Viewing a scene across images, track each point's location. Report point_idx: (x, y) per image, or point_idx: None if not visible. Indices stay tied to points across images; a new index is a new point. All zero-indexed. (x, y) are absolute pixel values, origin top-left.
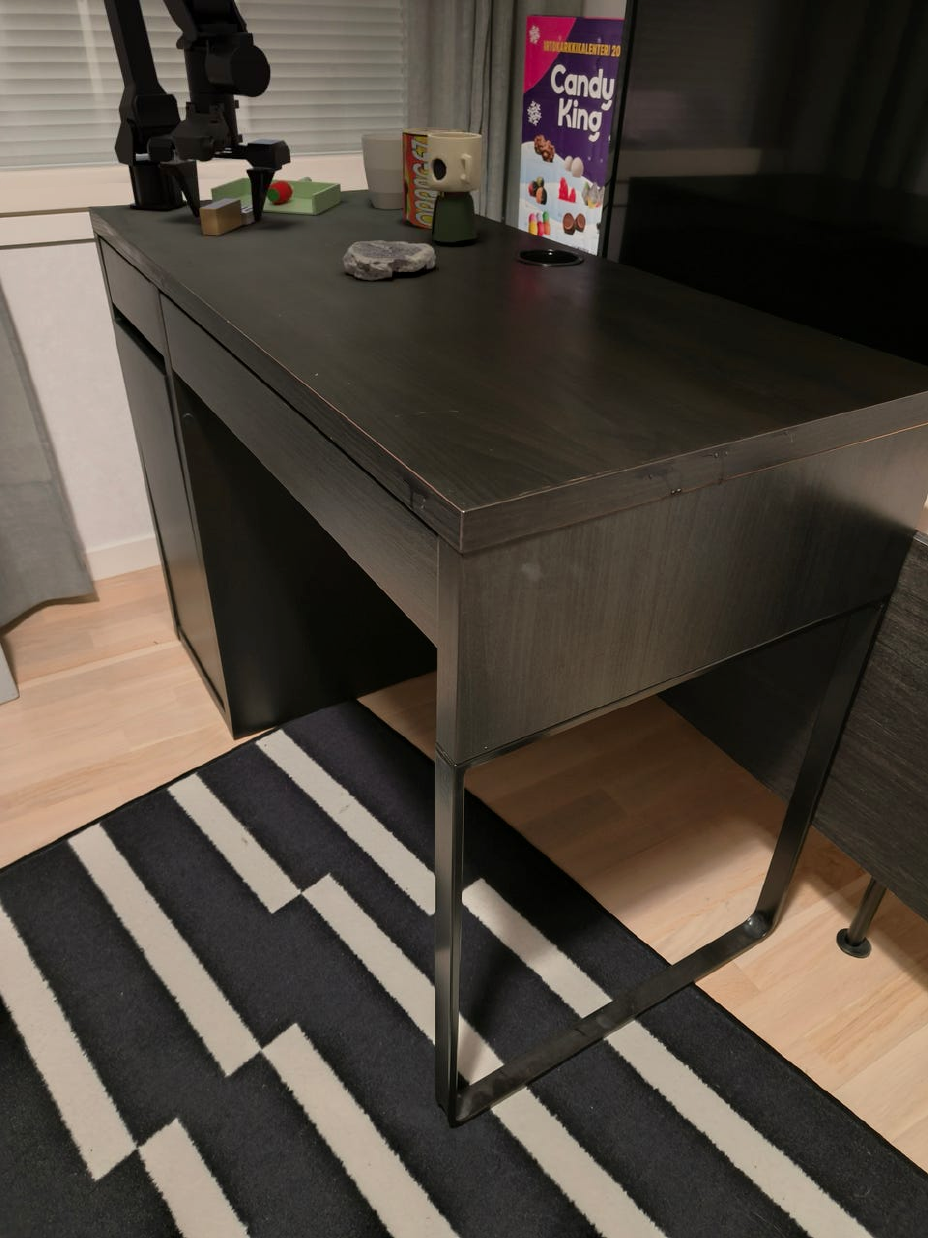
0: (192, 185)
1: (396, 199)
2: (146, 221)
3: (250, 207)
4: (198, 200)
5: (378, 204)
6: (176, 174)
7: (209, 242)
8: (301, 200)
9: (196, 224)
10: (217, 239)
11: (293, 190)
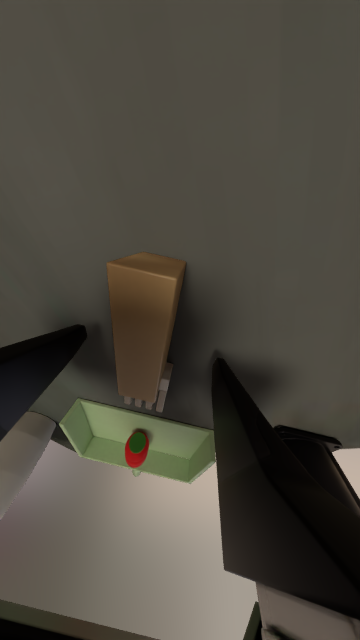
0: (229, 438)
1: None
2: (325, 378)
3: (136, 401)
4: (214, 397)
5: (37, 418)
6: (314, 498)
7: (133, 133)
8: (125, 439)
9: (221, 357)
10: (128, 200)
11: None
